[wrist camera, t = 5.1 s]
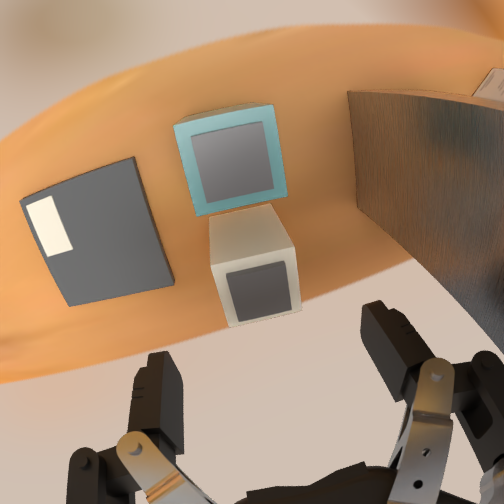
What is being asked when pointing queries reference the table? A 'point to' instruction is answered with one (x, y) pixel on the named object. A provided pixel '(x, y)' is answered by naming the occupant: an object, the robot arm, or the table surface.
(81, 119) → the table surface
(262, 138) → the block
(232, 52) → the table surface
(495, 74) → the ink box
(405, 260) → the table surface
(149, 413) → the robot arm
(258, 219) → the block
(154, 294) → the table surface
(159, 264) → the pad
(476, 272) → the unit
